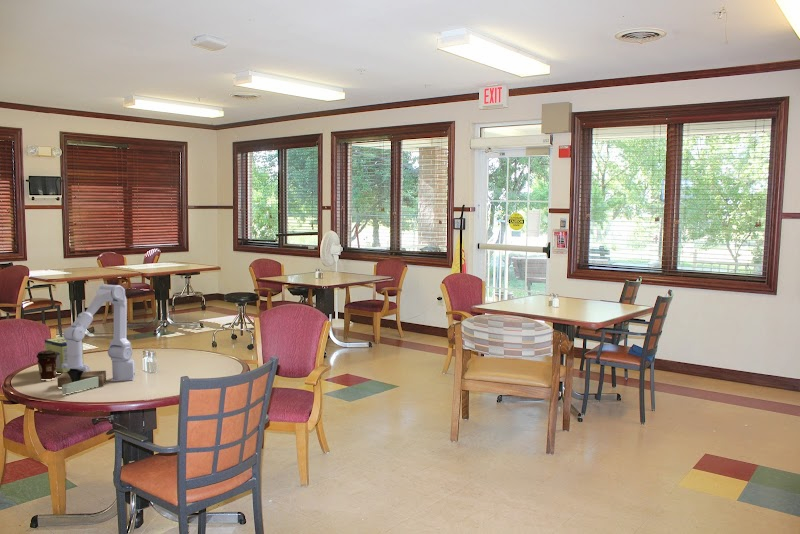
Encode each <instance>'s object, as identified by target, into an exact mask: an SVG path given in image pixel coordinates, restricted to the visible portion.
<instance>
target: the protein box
mask: <svg viewBox="0 0 800 534" xmlns="http://www.w3.org/2000/svg"><path fill="white" fill-rule="evenodd" d="M83 344H84V343H83V341H82V359H83V360H84V347H83ZM48 350H50V351H55V352H56V354H57V355H58V356H57V366H56V372H57V373H61V374H62V373H67V371H70V369H66V368H62V366H61V364H63V363H68V358H67V343H66V340H65V338H64V337H63V336H59V337H53V338H48V339H46V338H45V339H44V351H48ZM83 364H84V361H83ZM84 365H85V364H84Z"/></svg>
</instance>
